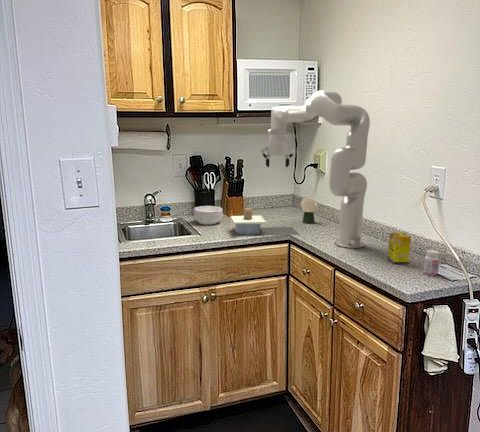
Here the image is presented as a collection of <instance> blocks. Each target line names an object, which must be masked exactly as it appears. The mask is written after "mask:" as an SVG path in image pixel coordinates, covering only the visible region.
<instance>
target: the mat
mask: <svg viewBox="0 0 480 432" xmlns="http://www.w3.org/2000/svg"><path fill="white" fill-rule="evenodd" d="M260 229H261V230H262V231H263V232H264V234H265V235H266V236H298V235H299V236H300V235H301V234H300V232H298V231H297V229H296V228H294V227H293V226H270V227H269V226H268V227H266V226H265V227H261V226H260Z"/></svg>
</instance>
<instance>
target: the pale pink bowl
mask: <svg viewBox="0 0 480 432" xmlns="http://www.w3.org/2000/svg"><path fill="white" fill-rule="evenodd" d="M223 210H224V209H223V208H222V207H220V206H214V205H202V206H201V205H200V206H196V207H194V208H193V219H195V220H197V222H198V223H199V224H200V225H206V226H208V225H209V226H211V225H216V224H218V223H219V221H220V220H221V219H222V218H223Z"/></svg>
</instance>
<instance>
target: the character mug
mask: <svg viewBox="0 0 480 432" xmlns="http://www.w3.org/2000/svg"><path fill="white" fill-rule="evenodd" d="M300 207H301V209H302V212H304V213H303V217H302V223H304V224H314V223H315V215H314V212H316V211H318V210H319V205H318V203H317V199H316V198H308V197H307V198H305V197H304V198H303V199H302V201H301V202H300Z"/></svg>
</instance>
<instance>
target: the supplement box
mask: <svg viewBox="0 0 480 432" xmlns="http://www.w3.org/2000/svg"><path fill="white" fill-rule="evenodd" d="M388 241H389V242H388V255H387V260H388V261H390V262H391V263H392V264H393V265H408V264H410V262H409V261H410V253H411V252H410V249H411V241H412V236H410V235H409V234H407V233H405V232H390V233H389V240H388Z"/></svg>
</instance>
